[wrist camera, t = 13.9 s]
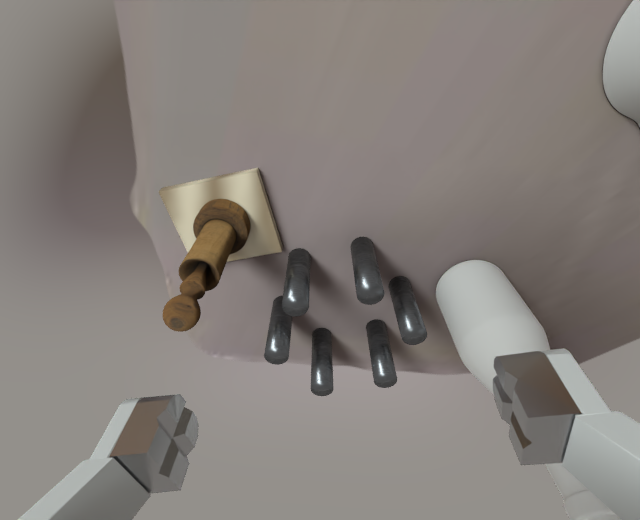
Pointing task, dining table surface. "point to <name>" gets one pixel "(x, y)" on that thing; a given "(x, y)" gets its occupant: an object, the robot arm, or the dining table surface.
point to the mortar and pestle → (206, 259)
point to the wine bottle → (503, 350)
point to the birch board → (233, 187)
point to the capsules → (322, 369)
